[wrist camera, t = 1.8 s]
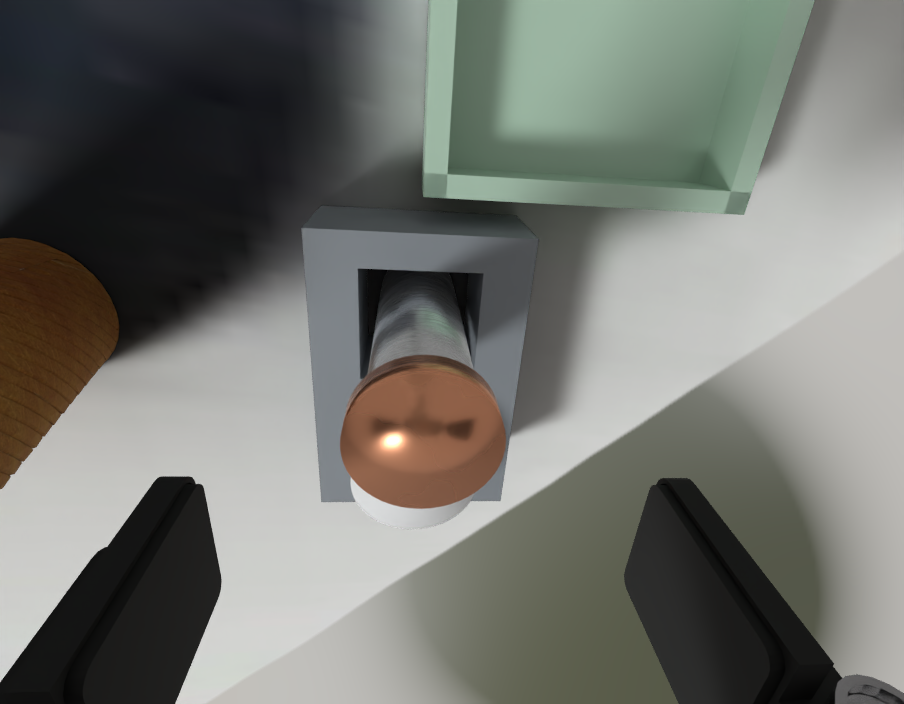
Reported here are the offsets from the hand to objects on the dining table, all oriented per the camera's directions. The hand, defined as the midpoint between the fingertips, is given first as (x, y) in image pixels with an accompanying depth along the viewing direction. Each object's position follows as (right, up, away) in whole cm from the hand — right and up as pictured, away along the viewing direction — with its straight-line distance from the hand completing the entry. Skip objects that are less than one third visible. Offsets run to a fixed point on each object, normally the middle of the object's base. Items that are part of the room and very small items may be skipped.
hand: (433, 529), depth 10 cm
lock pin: (-1, +6, +11) cm, 13 cm away
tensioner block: (-1, +4, +12) cm, 13 cm away
